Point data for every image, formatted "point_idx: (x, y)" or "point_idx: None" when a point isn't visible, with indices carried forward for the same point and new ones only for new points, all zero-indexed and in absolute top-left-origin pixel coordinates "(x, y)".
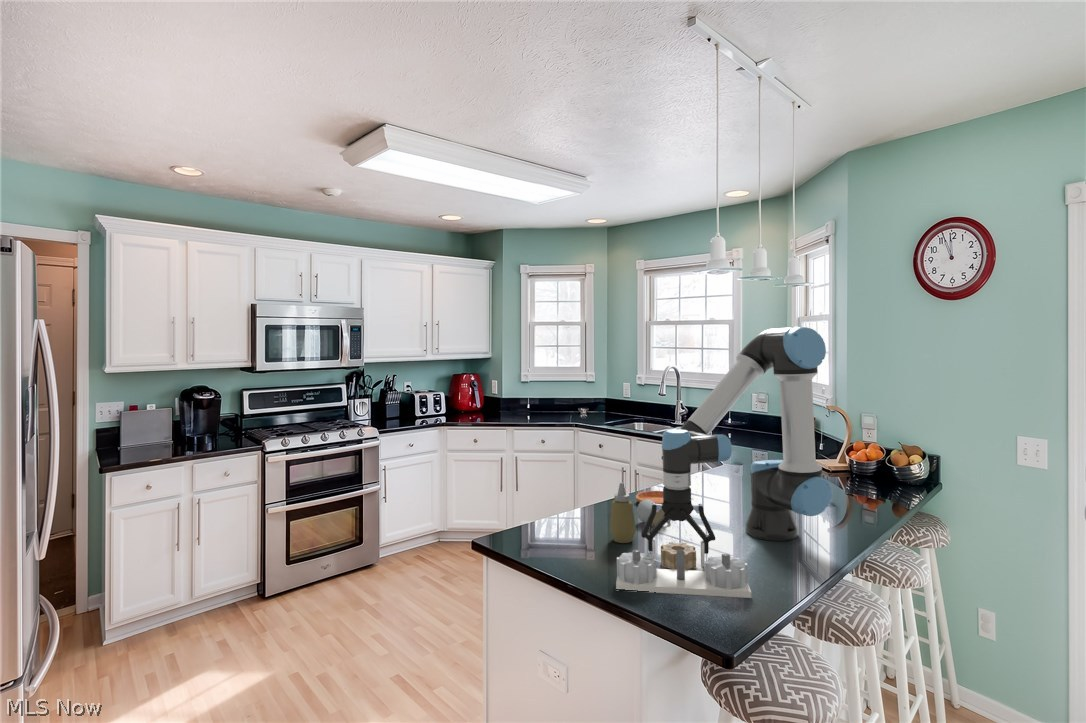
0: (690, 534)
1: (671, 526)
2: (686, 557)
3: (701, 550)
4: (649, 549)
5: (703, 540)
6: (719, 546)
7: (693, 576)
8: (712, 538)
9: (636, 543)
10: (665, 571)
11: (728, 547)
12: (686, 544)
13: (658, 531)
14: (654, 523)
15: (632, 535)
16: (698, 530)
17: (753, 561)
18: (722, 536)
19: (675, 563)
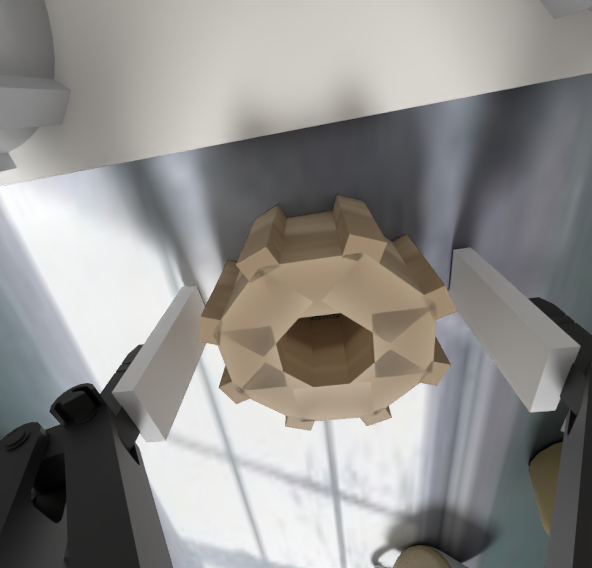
0: (303, 521)
1: (368, 551)
2: (251, 246)
3: (163, 349)
4: (543, 305)
5: (107, 412)
6: (189, 470)
7: (164, 9)
8: (18, 437)
9: (514, 445)
10: (405, 51)
11: (157, 468)
12: (279, 411)
13: (585, 449)
14: (431, 560)
15: (554, 481)
16: (93, 512)
17: (21, 389)
18: (202, 522)
19: (333, 225)
